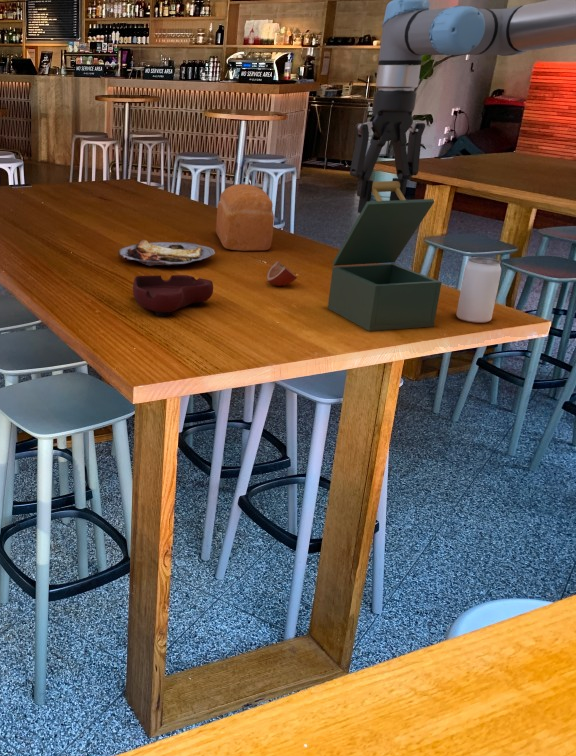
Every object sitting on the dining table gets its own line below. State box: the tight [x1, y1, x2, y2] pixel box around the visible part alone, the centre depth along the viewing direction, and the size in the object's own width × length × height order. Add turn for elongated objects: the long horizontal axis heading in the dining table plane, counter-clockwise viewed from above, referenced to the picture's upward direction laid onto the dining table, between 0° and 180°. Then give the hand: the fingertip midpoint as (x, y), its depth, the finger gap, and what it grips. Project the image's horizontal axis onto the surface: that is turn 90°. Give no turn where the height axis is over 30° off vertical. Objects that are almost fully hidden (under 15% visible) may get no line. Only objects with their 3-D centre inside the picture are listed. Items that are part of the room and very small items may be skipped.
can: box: [455, 256, 502, 324], centre depth 158 cm, size 6×6×12 cm
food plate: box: [117, 239, 216, 267], centre depth 209 cm, size 25×23×4 cm
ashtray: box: [132, 274, 214, 318], centre depth 169 cm, size 18×16×5 cm
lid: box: [332, 180, 435, 267], centre depth 160 cm, size 17×14×8 cm
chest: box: [327, 262, 443, 332], centre depth 159 cm, size 16×14×9 cm
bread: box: [215, 183, 275, 252], centre depth 228 cm, size 14×26×16 cm, turn 175°
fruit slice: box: [266, 260, 298, 287], centre depth 184 cm, size 8×7×5 cm
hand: (378, 212), depth 158 cm, fingers closed on lid, 6 cm apart
